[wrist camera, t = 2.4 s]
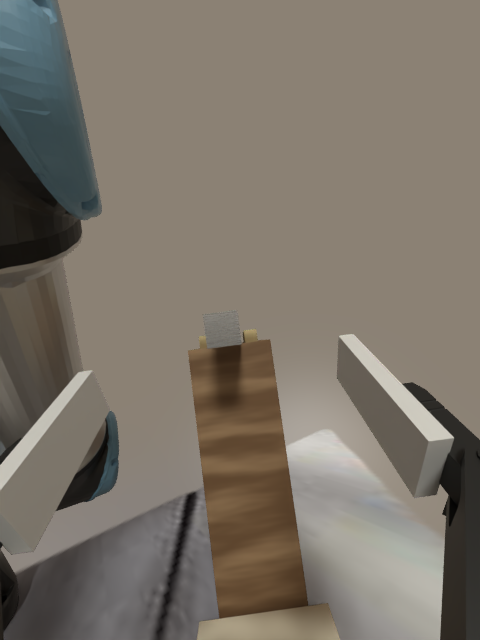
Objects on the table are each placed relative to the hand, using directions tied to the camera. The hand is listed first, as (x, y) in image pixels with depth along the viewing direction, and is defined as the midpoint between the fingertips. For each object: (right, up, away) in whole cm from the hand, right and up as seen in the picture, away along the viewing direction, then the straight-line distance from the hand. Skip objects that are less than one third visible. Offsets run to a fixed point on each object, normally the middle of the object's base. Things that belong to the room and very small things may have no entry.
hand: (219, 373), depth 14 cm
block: (0, 0, +20) cm, 20 cm away
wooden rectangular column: (+4, -30, +23) cm, 38 cm away
